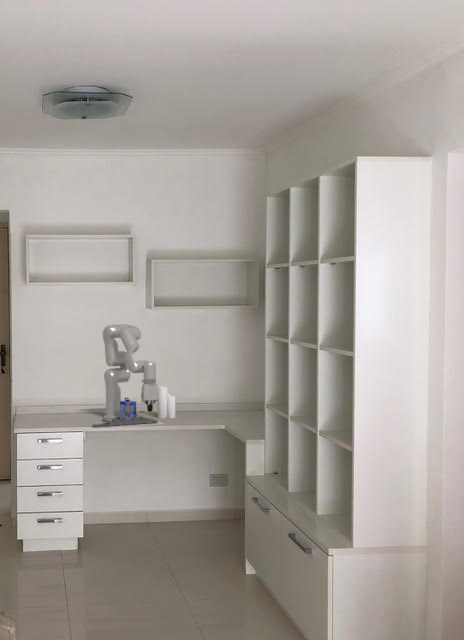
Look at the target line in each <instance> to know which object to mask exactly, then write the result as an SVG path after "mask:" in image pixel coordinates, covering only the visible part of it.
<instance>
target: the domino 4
mask: <svg viewBox="0 0 464 640" xmlns="http://www.w3.org/2000/svg"><path fill="white" fill-rule="evenodd" d="M121 420H122V421H125V422H129V423H134V424H138V425H139V423H140V422H137V421H133V420H130V419H125V418H122V419H121Z"/></svg>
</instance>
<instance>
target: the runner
mask: <svg viewBox="0 0 464 640" xmlns="http://www.w3.org/2000/svg"><path fill="white" fill-rule="evenodd" d="M157 421H158V423H154V422H149V424H146V423H142V422H140V423H139V425H138V424H134V423H130V425H126V424H121V423H120V426H117V425H113V424H111V427H109V428H121V427H122V428H124V427H125V428H126V427H136V426H137V427H140V426H152V425H153V426H154V425H155V426H156V425H165V423H164V422H161V421H159V420H157Z"/></svg>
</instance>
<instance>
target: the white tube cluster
mask: <svg viewBox="0 0 464 640" xmlns="http://www.w3.org/2000/svg"><path fill="white" fill-rule="evenodd" d="M168 390H169V387H168V386H164V385H163V386H160V385H158V391H159V399H158V401H157V418H158V419H167V418H168V419H176V396H175V395H172V393H171V392H169V391H168Z"/></svg>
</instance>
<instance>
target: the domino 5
mask: <svg viewBox="0 0 464 640" xmlns="http://www.w3.org/2000/svg"><path fill="white" fill-rule="evenodd" d="M131 420H133V421H137V422H142V423H146V424H149V421H145V420H141V419H140V418H133V417H131Z"/></svg>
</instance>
